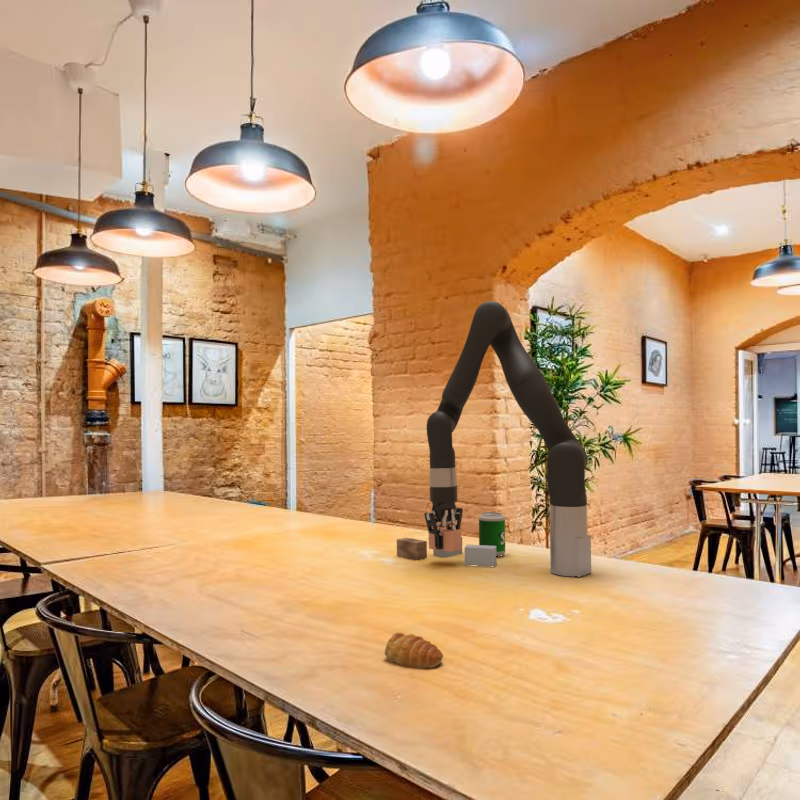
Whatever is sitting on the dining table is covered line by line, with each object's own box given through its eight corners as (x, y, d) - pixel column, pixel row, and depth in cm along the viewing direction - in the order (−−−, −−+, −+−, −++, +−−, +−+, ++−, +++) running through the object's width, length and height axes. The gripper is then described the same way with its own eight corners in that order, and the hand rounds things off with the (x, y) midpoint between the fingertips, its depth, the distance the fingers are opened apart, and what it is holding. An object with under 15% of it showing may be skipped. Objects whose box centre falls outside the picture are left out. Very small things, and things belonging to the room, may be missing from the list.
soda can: (497, 559, 177) (497, 516, 178) (474, 555, 182) (473, 514, 182) (510, 554, 183) (509, 513, 184) (487, 551, 188) (486, 511, 188)
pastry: (451, 661, 102) (450, 637, 102) (429, 675, 97) (428, 650, 97) (403, 649, 108) (403, 626, 108) (379, 662, 102) (379, 638, 102)
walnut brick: (426, 558, 179) (426, 541, 179) (417, 561, 176) (417, 543, 176) (406, 554, 184) (406, 537, 185) (396, 557, 182) (396, 539, 182)
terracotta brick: (461, 549, 170) (460, 530, 171) (452, 551, 167) (452, 532, 168) (437, 546, 176) (437, 528, 176) (428, 548, 173) (428, 530, 173)
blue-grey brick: (496, 564, 171) (496, 545, 171) (494, 567, 167) (494, 548, 168) (467, 562, 173) (467, 544, 174) (464, 566, 170) (464, 547, 170)
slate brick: (452, 552, 188) (452, 535, 188) (462, 554, 185) (462, 537, 185) (433, 556, 183) (433, 538, 183) (443, 558, 180) (443, 540, 180)
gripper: (436, 487, 165) (438, 553, 164) (470, 482, 175) (472, 545, 174) (415, 486, 170) (417, 550, 169) (449, 481, 180) (451, 542, 179)
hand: (445, 547), depth 172 cm, fingers closed on terracotta brick, 4 cm apart
